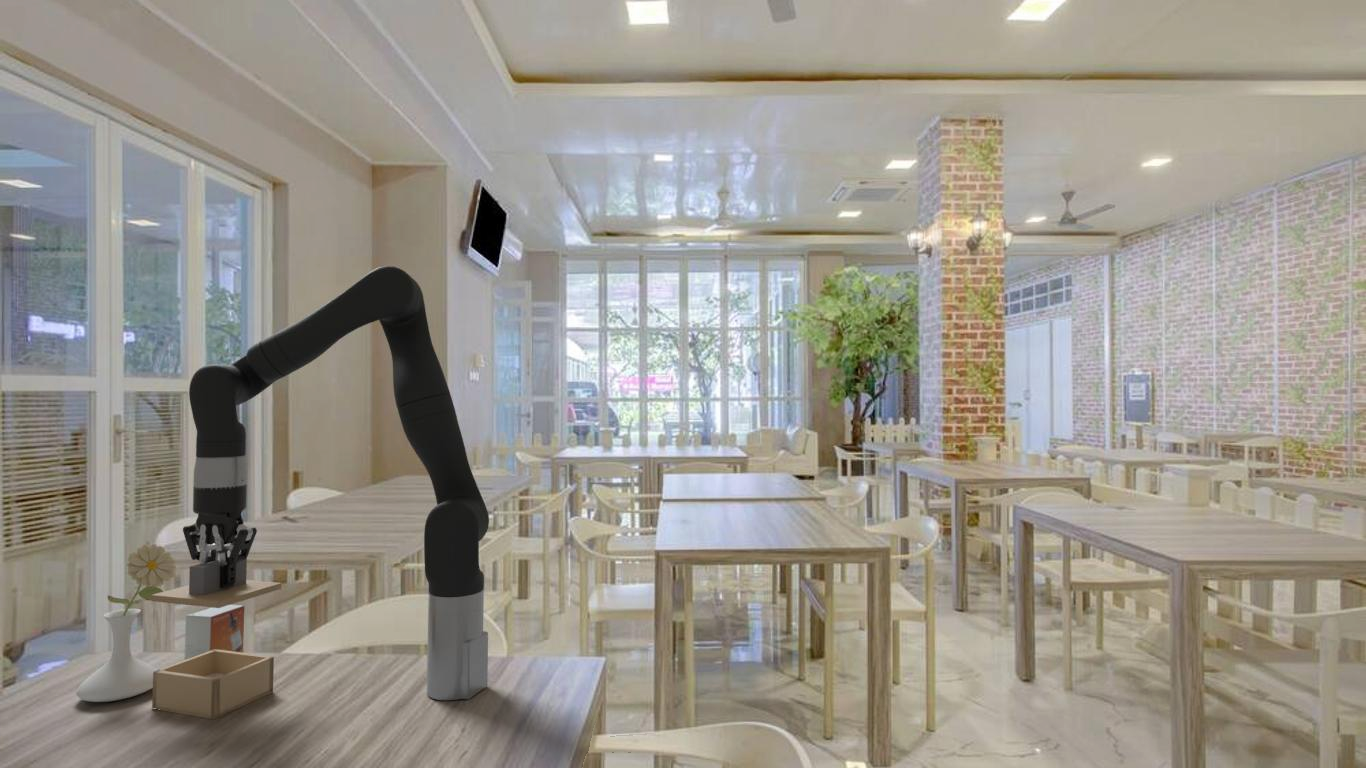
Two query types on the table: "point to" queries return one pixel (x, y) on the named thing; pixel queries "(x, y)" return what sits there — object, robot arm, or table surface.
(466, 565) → the robot arm
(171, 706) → the box
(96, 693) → the flower in vase
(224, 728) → the table surface
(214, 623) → the small box
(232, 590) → the mailer lid
